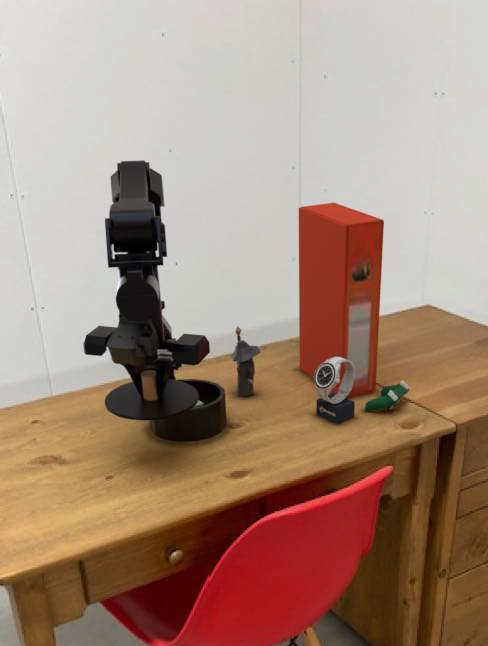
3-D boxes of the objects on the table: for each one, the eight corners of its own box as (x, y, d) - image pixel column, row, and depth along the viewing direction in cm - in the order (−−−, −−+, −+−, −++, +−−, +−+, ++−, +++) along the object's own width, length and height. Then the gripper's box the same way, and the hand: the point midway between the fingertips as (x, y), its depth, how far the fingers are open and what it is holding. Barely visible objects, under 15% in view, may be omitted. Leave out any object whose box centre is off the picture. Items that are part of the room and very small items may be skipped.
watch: (308, 418, 146) (309, 360, 140) (339, 405, 150) (341, 349, 144) (330, 427, 142) (331, 369, 136) (361, 414, 147) (363, 357, 141)
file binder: (339, 399, 153) (345, 224, 135) (298, 369, 165) (298, 206, 148) (375, 391, 155) (385, 219, 138) (332, 363, 168) (336, 202, 151)
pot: (135, 430, 142) (131, 396, 139) (188, 405, 151) (186, 373, 147) (189, 451, 135) (186, 416, 131) (242, 424, 144) (240, 391, 140)
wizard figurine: (266, 395, 155) (265, 335, 148) (242, 402, 152) (240, 341, 145) (242, 382, 160) (240, 323, 154) (219, 388, 158) (216, 329, 151)
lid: (86, 406, 126) (81, 376, 123) (154, 377, 135) (151, 349, 132) (149, 433, 118) (146, 401, 115) (218, 400, 127) (216, 370, 124)
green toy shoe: (373, 422, 148) (396, 406, 144) (361, 406, 147) (384, 389, 143) (393, 404, 154) (415, 388, 150) (381, 389, 154) (403, 372, 150)
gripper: (57, 311, 113) (74, 411, 121) (180, 322, 108) (188, 425, 117) (93, 288, 121) (106, 383, 130) (207, 297, 117) (213, 395, 126)
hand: (151, 396), depth 126 cm, fingers closed on lid, 3 cm apart
